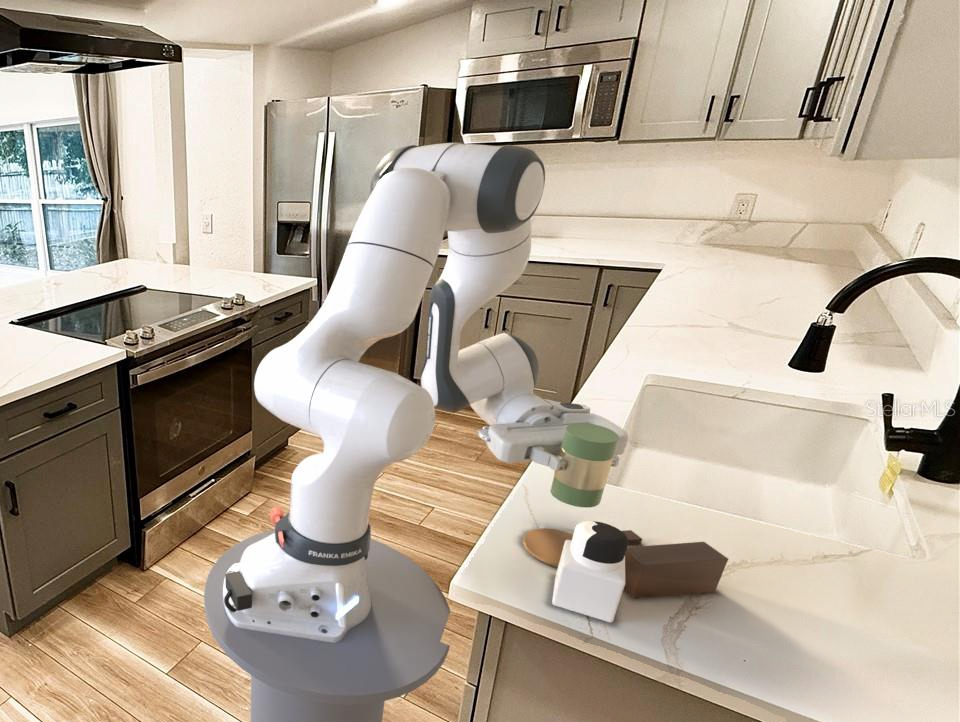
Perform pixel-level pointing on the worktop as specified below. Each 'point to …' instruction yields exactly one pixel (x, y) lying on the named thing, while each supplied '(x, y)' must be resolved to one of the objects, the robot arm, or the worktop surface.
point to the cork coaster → (546, 544)
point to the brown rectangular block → (671, 568)
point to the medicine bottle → (592, 571)
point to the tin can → (584, 464)
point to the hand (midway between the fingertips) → (588, 464)
